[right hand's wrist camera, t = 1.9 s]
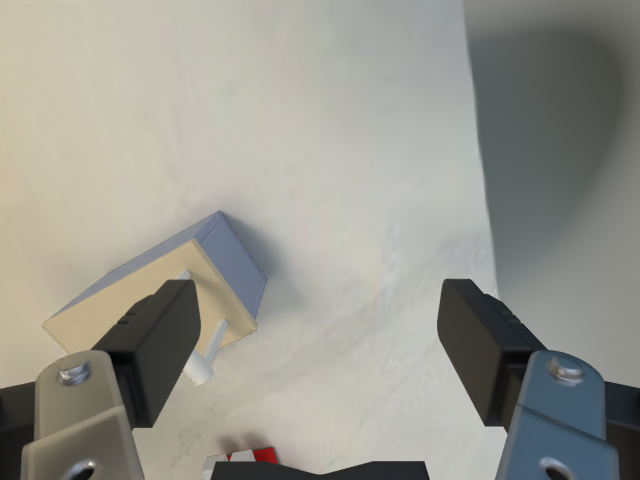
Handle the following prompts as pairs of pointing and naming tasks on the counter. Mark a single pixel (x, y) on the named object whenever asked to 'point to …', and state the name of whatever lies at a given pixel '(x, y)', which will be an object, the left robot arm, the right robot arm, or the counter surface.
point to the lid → (116, 299)
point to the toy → (237, 459)
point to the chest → (218, 248)
